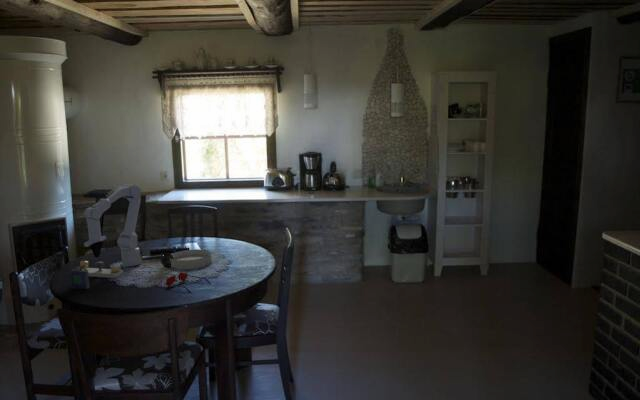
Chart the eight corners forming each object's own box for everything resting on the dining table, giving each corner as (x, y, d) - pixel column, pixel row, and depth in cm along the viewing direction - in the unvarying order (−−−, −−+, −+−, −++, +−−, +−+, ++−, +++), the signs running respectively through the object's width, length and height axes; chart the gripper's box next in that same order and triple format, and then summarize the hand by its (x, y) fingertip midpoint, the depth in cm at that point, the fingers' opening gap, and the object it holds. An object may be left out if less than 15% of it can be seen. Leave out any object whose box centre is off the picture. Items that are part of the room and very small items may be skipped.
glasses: (186, 279, 249) (185, 269, 248) (211, 284, 241) (211, 274, 240) (164, 288, 237) (164, 278, 237) (190, 293, 229) (189, 283, 228)
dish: (161, 267, 270) (160, 258, 269) (186, 256, 290) (186, 248, 289) (195, 271, 261) (195, 262, 260) (219, 259, 281) (219, 251, 281)
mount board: (123, 273, 260) (123, 269, 259) (114, 278, 253) (114, 274, 253) (86, 271, 265) (86, 267, 265) (77, 275, 258) (77, 271, 258)
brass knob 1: (88, 267, 263) (88, 260, 263) (89, 269, 260) (89, 261, 259) (80, 268, 261) (79, 261, 261) (81, 270, 258) (80, 263, 257)
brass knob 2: (119, 272, 259) (118, 265, 259) (120, 274, 256) (119, 267, 255) (110, 274, 257) (110, 266, 257) (112, 276, 254) (111, 268, 253)
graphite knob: (103, 268, 261) (102, 260, 261) (104, 270, 258) (104, 262, 257) (95, 269, 259) (94, 262, 259) (96, 271, 256) (95, 264, 255)
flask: (91, 288, 239) (88, 266, 237) (86, 290, 236) (84, 268, 234) (74, 286, 242) (72, 265, 240) (70, 288, 239) (67, 267, 237)
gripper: (91, 234, 247) (94, 261, 250) (110, 227, 261) (112, 253, 264) (79, 234, 249) (82, 260, 251) (98, 227, 263) (101, 252, 265)
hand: (97, 256), depth 257 cm, fingers closed
